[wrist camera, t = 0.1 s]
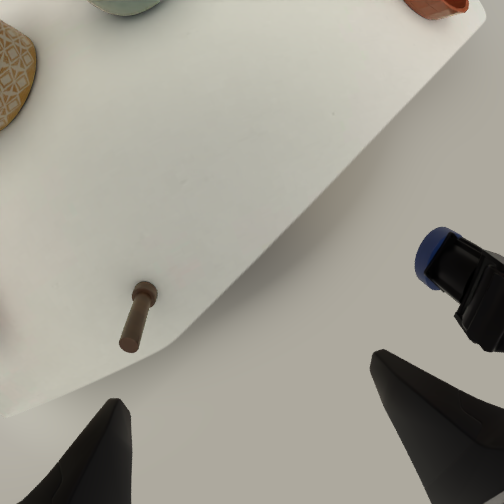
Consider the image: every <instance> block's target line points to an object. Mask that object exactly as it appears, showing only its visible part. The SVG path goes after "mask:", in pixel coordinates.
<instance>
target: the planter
mask: <svg viewBox="0 0 504 504" xmlns="http://www.w3.org/2000/svg"><path fill="white" fill-rule="evenodd" d="M35 69H36V52H35V48H34V45H33V43H32V41H31V40H30V39H29V38H28V37H27V36H25V35H24V34H22V33H21V32H19V31H18V30H16V29H14V28H13V27H11V26H10V25H8V24H6V23H5V22H3V21H1V20H0V131H1V130H2V129H4V128H5V127H6V126H7V125H8V124H9V123H10V122H11V121H12V120H13V119H14V118H15V116H16V115H17V114H18V112H19V111H20V109H21V108H22V106H23V104H24V102H25V100H26V98H27V96H28V94H29V92H30V89H31V86H32V83H33V79H34V75H35Z"/></svg>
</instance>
